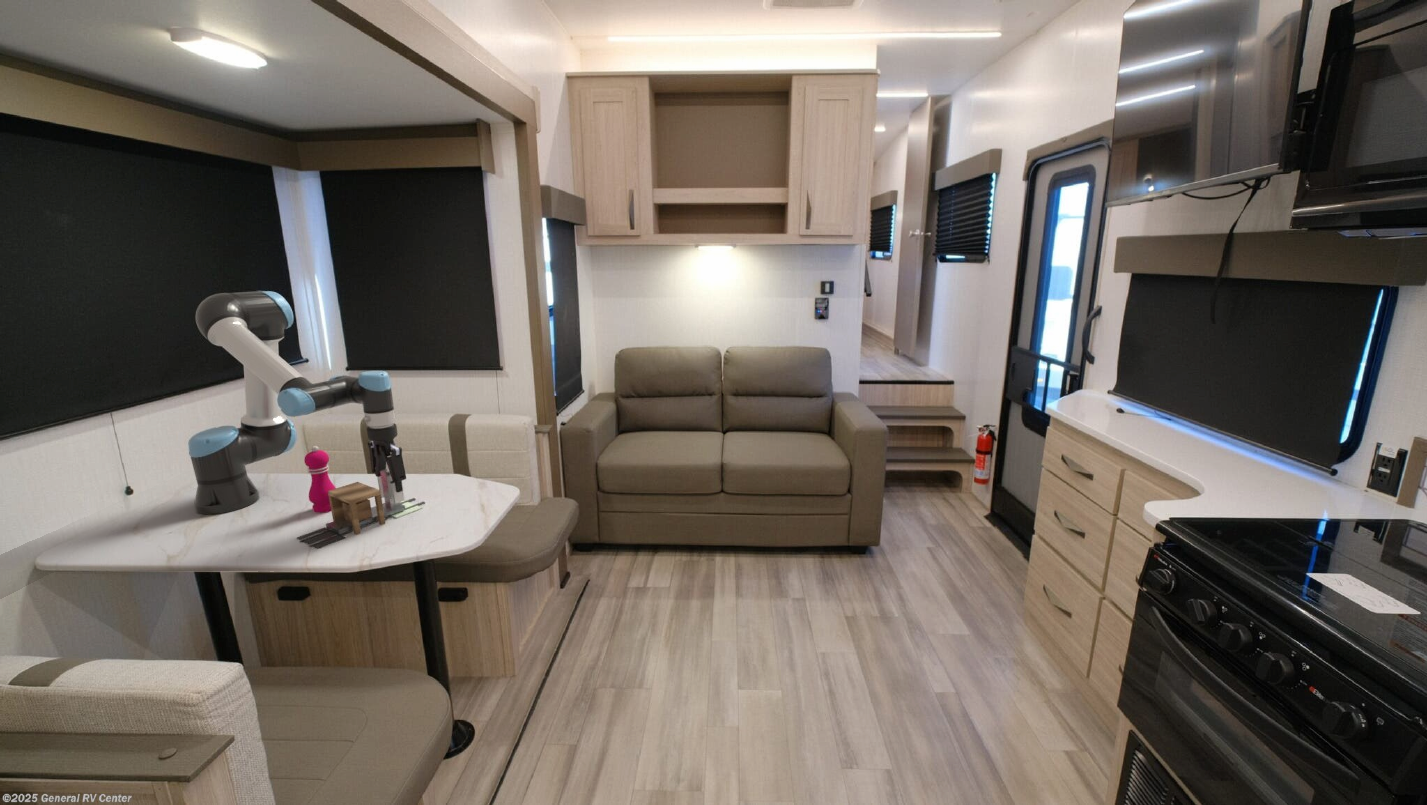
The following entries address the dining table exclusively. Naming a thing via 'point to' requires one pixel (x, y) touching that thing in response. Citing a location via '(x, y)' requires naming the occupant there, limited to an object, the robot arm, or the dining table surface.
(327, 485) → the pepper mill
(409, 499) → the rails
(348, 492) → the tunnel
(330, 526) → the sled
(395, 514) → the pad
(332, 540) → the flat slatted panel
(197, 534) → the dining table surface
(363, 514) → the block
